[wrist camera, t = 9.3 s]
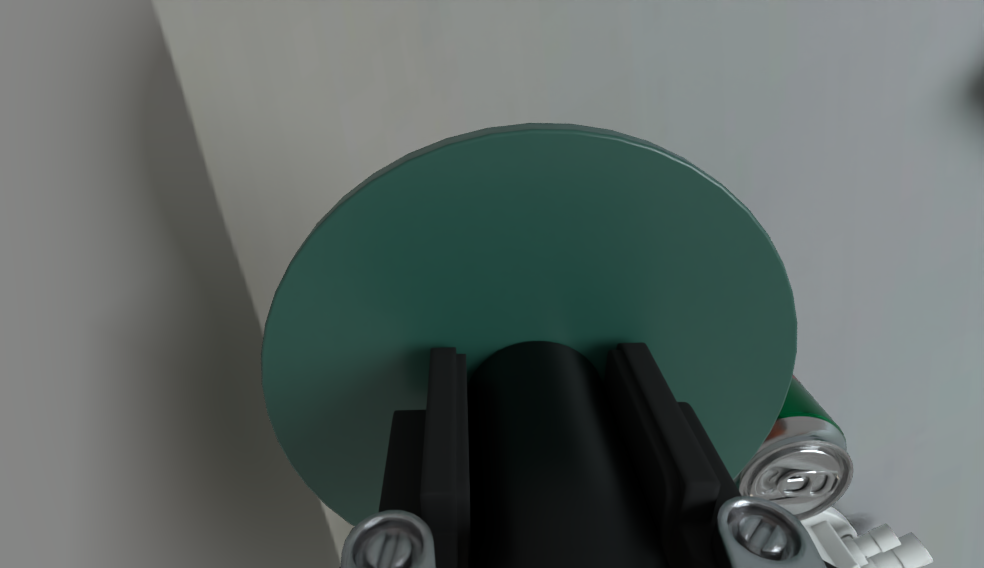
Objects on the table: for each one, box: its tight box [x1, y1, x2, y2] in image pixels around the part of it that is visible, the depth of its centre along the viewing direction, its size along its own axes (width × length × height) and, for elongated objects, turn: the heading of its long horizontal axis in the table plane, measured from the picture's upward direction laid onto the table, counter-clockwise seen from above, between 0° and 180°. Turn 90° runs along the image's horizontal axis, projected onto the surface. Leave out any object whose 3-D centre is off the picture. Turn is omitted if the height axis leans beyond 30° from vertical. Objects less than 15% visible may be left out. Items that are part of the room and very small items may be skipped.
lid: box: [261, 123, 797, 568], centre depth 11 cm, size 12×12×7 cm
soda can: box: [733, 375, 853, 521], centre depth 27 cm, size 5×5×12 cm
